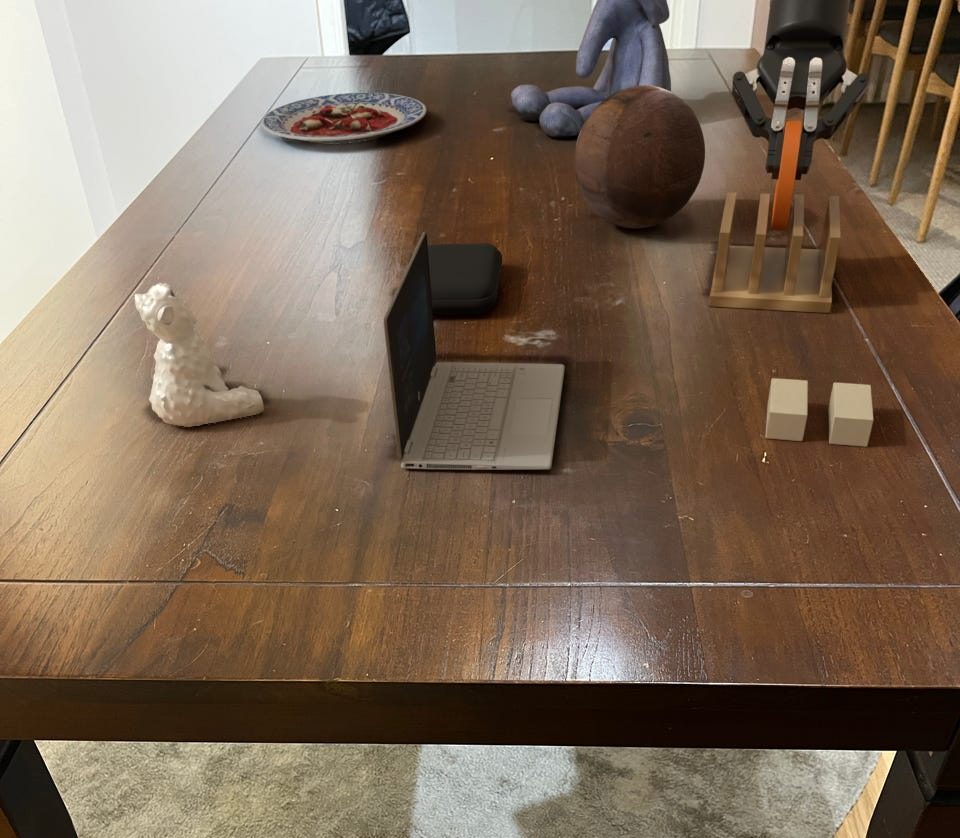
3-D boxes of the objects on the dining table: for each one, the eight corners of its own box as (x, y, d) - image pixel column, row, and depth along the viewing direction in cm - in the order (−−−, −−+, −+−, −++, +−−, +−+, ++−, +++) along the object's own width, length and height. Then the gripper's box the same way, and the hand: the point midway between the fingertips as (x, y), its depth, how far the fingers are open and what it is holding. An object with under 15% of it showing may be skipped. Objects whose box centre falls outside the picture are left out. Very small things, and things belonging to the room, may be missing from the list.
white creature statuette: (271, 412, 91) (245, 282, 83) (188, 449, 87) (152, 315, 79) (215, 379, 96) (185, 254, 88) (134, 413, 92) (95, 284, 84)
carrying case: (411, 266, 115) (393, 321, 104) (408, 239, 113) (390, 292, 102) (503, 264, 114) (496, 319, 104) (503, 237, 112) (495, 291, 101)
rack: (828, 260, 111) (841, 192, 106) (829, 313, 101) (843, 241, 96) (718, 255, 114) (725, 189, 109) (708, 306, 104) (716, 235, 99)
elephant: (501, 110, 163) (497, -43, 150) (645, 92, 167) (654, -57, 154) (540, 144, 148) (539, -21, 134) (697, 124, 152) (712, -38, 139)
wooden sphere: (721, 217, 123) (736, 80, 113) (655, 257, 114) (665, 112, 104) (618, 196, 130) (623, 65, 120) (548, 231, 122) (548, 94, 112)
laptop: (550, 475, 81) (551, 320, 72) (398, 471, 83) (380, 318, 74) (564, 371, 94) (566, 230, 86) (433, 369, 96) (421, 230, 87)
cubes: (864, 411, 86) (870, 384, 85) (867, 447, 82) (873, 419, 80) (767, 404, 88) (771, 377, 86) (765, 438, 84) (769, 411, 82)
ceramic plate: (391, 157, 147) (389, 135, 145) (234, 149, 153) (230, 128, 151) (449, 110, 165) (448, 89, 163) (307, 104, 171) (304, 85, 169)
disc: (786, 215, 107) (802, 111, 101) (785, 243, 100) (802, 132, 94) (771, 214, 108) (786, 110, 102) (769, 242, 100) (785, 131, 94)
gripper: (740, -22, 97) (716, 153, 96) (890, -23, 94) (867, 157, 93) (736, 29, 104) (714, 192, 103) (875, 29, 101) (853, 197, 101)
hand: (787, 175), depth 98 cm, fingers closed on disc, 1 cm apart
